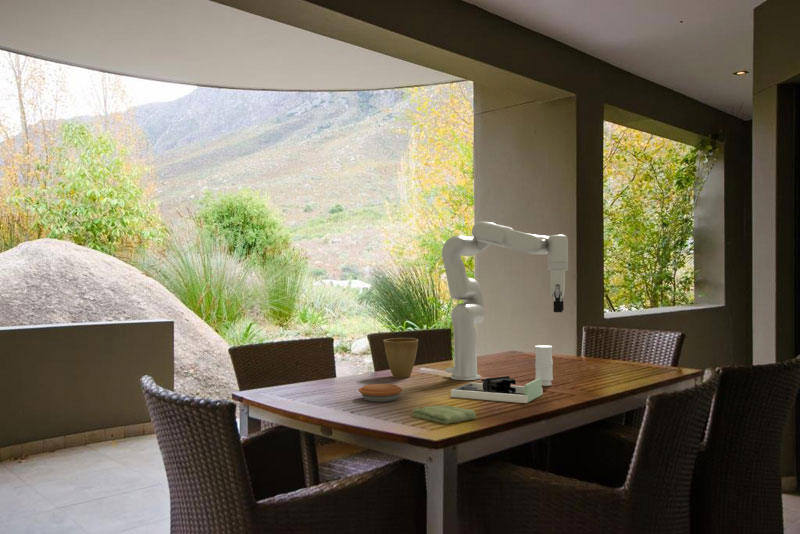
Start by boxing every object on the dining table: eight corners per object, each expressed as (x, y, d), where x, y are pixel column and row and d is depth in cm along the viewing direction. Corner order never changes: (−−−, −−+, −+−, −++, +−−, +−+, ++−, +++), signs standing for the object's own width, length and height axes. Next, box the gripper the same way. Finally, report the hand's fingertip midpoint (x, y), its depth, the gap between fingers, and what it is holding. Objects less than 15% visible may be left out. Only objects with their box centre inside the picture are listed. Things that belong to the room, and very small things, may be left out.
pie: (393, 404, 229) (393, 389, 229) (351, 402, 234) (351, 387, 234) (408, 396, 243) (408, 382, 243) (369, 394, 249) (368, 380, 249)
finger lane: (451, 396, 241) (450, 380, 241) (470, 389, 257) (470, 373, 257) (526, 403, 227) (526, 385, 227) (542, 394, 243) (542, 377, 243)
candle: (551, 382, 268) (551, 345, 269) (554, 385, 262) (553, 347, 262) (534, 382, 269) (533, 345, 269) (536, 385, 262) (535, 347, 262)
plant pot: (382, 374, 296) (382, 338, 296) (416, 373, 298) (415, 337, 298) (385, 379, 281) (385, 341, 281) (420, 378, 283) (420, 340, 283)
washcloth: (441, 411, 218) (441, 401, 218) (478, 420, 204) (478, 409, 204) (409, 417, 210) (409, 406, 210) (446, 426, 196) (445, 415, 196)
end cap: (504, 393, 247) (504, 375, 247) (516, 396, 241) (516, 377, 241) (482, 396, 242) (482, 377, 242) (494, 399, 236) (494, 379, 236)
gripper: (549, 267, 269) (550, 310, 268) (546, 267, 252) (547, 312, 252) (569, 267, 266) (569, 310, 266) (567, 266, 250) (567, 312, 250)
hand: (558, 311), depth 259 cm, fingers open, 9 cm apart
